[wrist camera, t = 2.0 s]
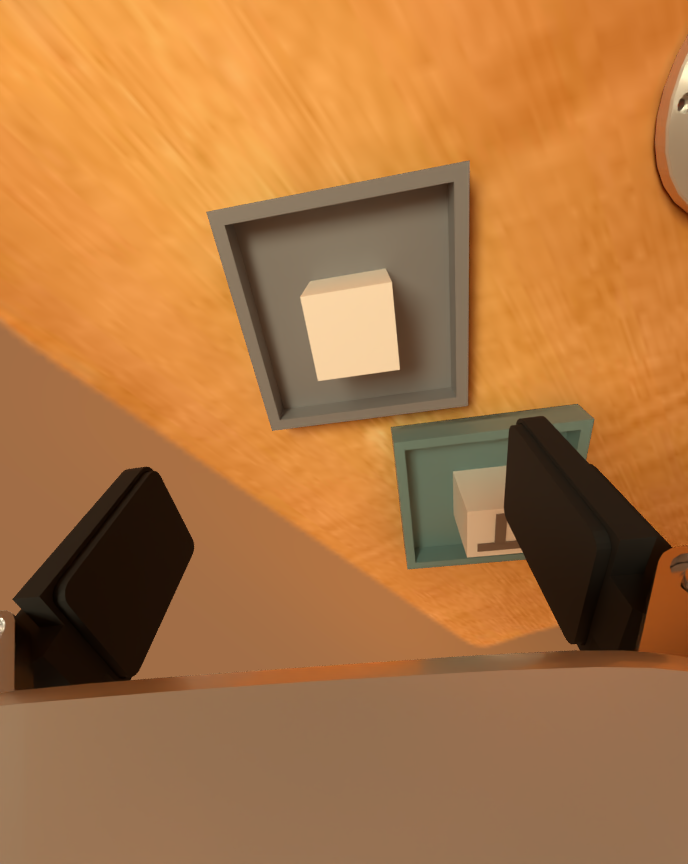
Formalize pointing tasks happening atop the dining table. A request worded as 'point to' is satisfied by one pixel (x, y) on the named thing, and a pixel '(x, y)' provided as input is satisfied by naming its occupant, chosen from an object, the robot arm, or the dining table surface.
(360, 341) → the blank cube
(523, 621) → the dining table surface
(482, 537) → the letter cube
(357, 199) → the charcoal tray
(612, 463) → the dining table surface
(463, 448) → the teal tray
